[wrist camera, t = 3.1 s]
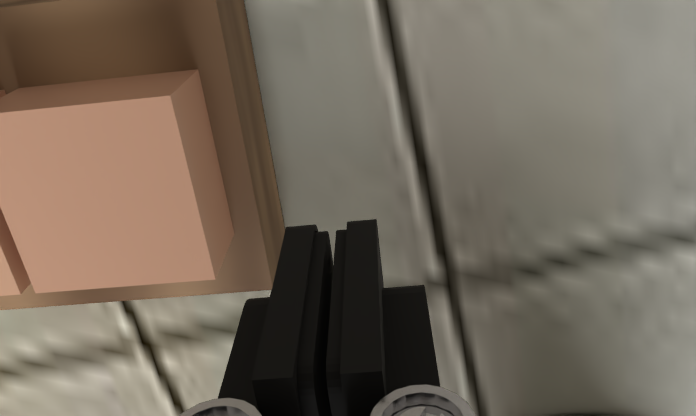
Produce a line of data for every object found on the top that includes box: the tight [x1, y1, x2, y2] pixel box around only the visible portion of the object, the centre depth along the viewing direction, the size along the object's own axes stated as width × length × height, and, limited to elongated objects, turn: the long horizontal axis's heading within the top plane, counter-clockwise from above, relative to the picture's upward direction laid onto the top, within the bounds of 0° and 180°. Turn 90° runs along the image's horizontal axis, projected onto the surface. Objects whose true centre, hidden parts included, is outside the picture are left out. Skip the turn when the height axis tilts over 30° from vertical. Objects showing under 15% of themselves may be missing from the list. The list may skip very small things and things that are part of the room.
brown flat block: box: [0, 0, 285, 310], centre depth 23 cm, size 14×11×4 cm
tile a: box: [0, 69, 234, 293], centre depth 20 cm, size 6×6×3 cm
